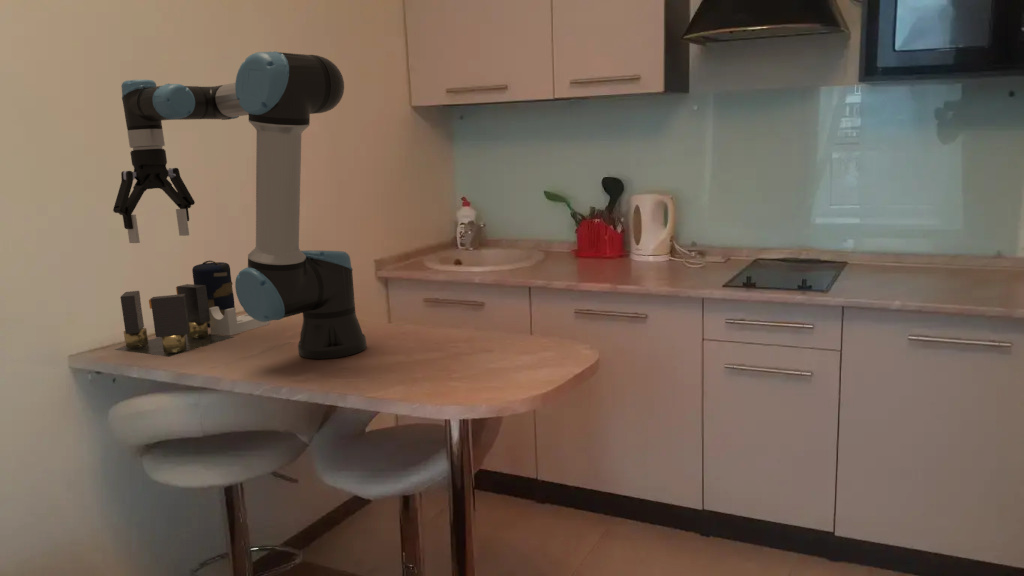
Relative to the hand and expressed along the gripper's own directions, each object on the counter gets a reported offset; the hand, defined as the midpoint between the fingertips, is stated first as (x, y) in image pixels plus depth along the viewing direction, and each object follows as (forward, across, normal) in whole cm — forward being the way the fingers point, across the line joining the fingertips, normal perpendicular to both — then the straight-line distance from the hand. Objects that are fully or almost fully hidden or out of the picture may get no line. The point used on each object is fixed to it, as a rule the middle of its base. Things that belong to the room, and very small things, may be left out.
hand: (160, 239), depth 188 cm
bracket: (+27, -17, +4) cm, 32 cm away
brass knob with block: (+25, +5, -7) cm, 27 cm away
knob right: (+26, -7, 0) cm, 26 cm away
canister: (+26, -20, -8) cm, 34 cm away
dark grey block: (+26, +5, +7) cm, 27 cm away
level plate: (+26, 0, 0) cm, 26 cm away
